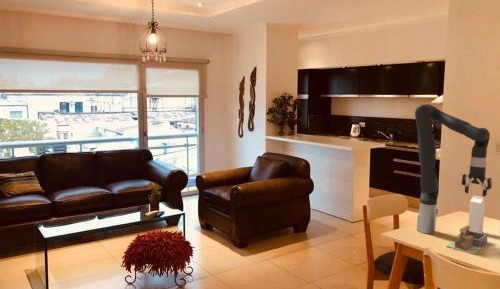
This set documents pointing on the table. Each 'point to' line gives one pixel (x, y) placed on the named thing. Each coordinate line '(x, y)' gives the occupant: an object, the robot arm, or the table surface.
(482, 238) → the holder
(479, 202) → the milk
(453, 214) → the table surface
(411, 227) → the table surface
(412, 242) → the table surface
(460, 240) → the caddy
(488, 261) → the table surface
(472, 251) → the mat
